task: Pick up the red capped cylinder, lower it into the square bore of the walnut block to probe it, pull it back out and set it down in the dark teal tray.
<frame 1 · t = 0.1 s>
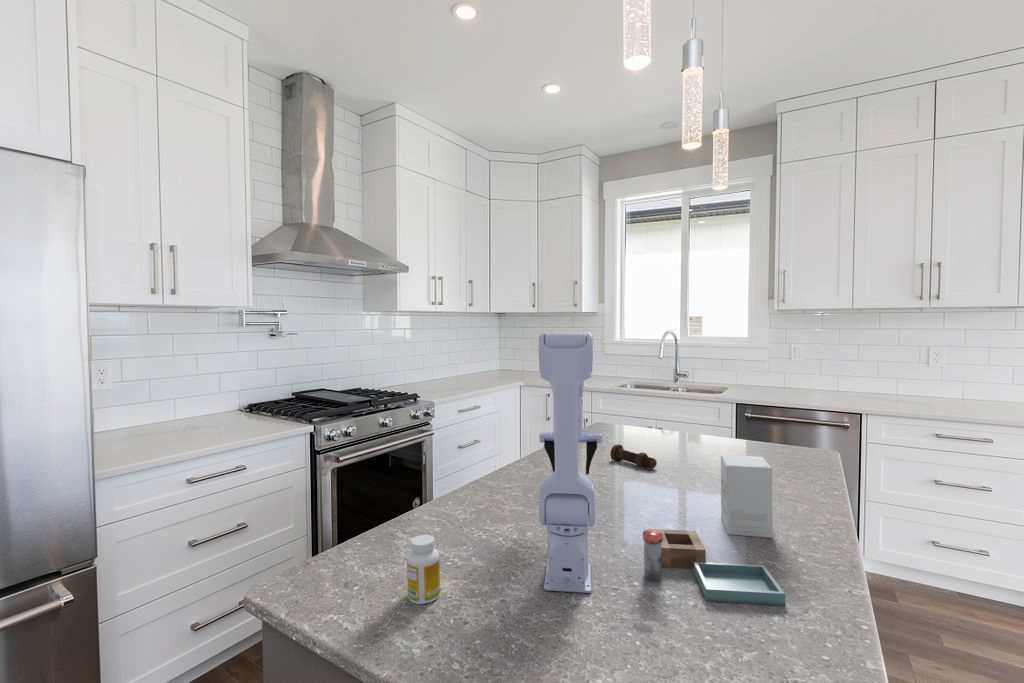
hand: (570, 472, 114), 10 cm above the counter, tool pointing down, fingers open, 7 cm apart
supplement box: (745, 528, 105), on the counter
tray: (736, 588, 82), on the counter
supplement bottle: (424, 597, 82), on the counter
bore block: (678, 557, 93), on the counter
bolt: (633, 465, 153), on the counter
red capped cylinder: (652, 577, 86), on the counter
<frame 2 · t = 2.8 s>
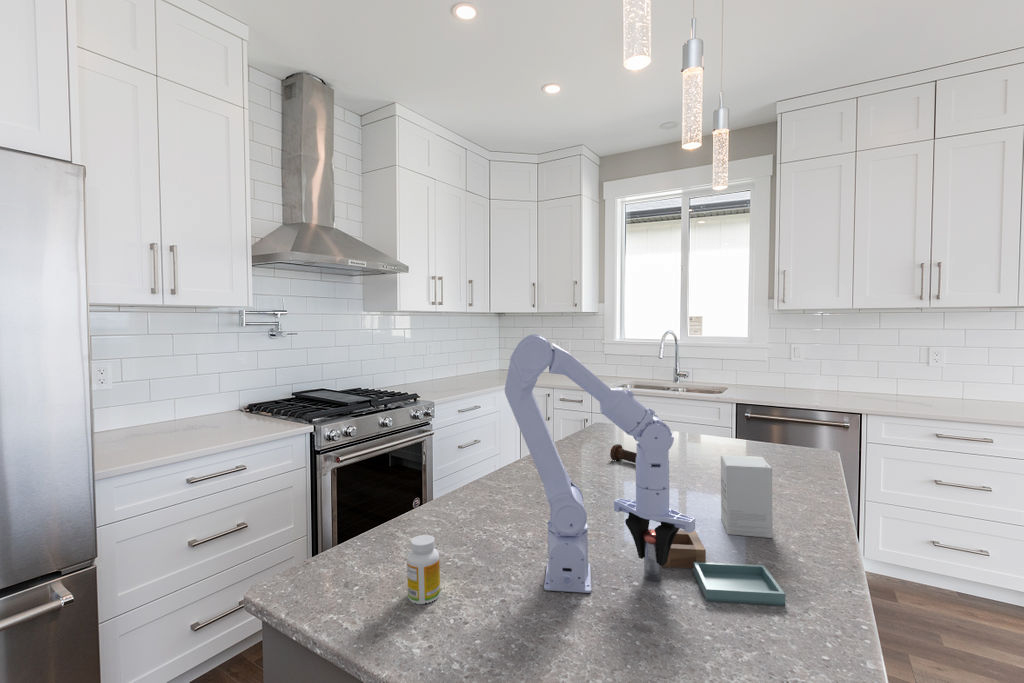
hand: (652, 559, 86), 3 cm above the counter, tool pointing down, fingers closed on red capped cylinder, 3 cm apart
red capped cylinder: (652, 577, 86), on the counter, touching gripper
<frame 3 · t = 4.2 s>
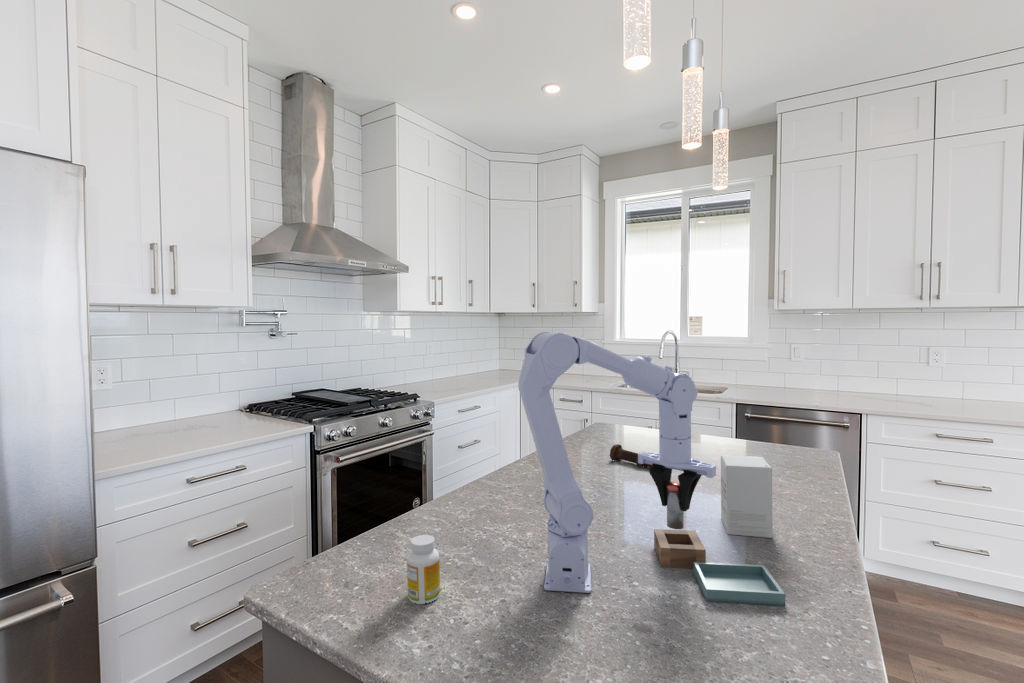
hand: (675, 506, 92), 10 cm above the counter, tool pointing down, fingers closed on red capped cylinder, 3 cm apart
red capped cylinder: (675, 526, 91), point 7 cm above the counter, touching gripper
everything else where it was.
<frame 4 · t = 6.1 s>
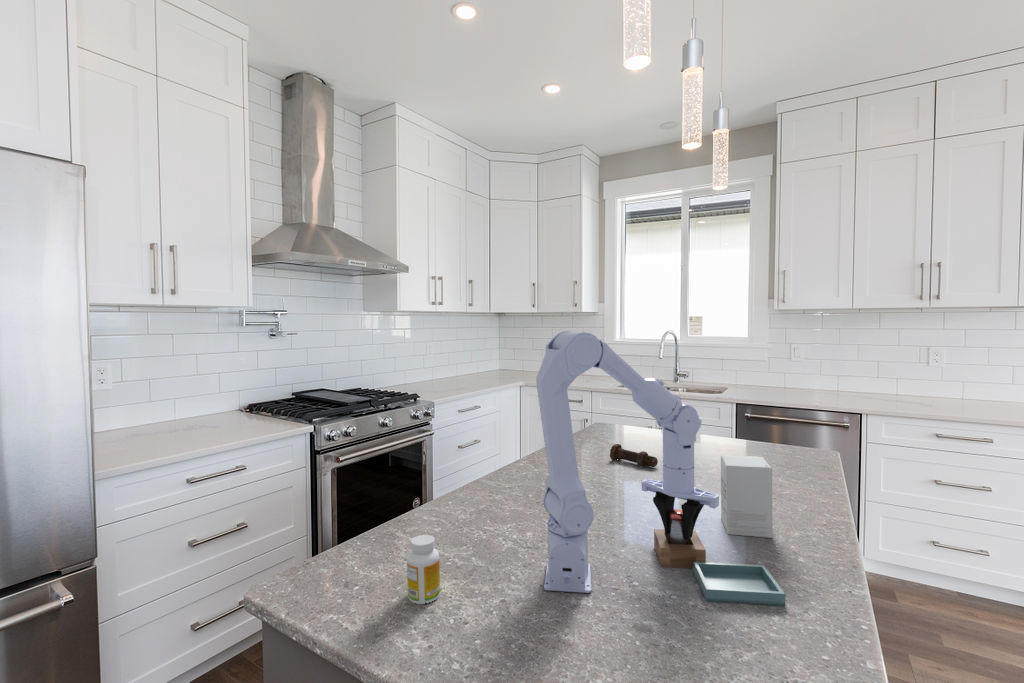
hand: (678, 535, 93), 4 cm above the counter, tool pointing down, fingers closed on red capped cylinder, 3 cm apart
red capped cylinder: (678, 554, 92), point 1 cm above the counter, touching gripper
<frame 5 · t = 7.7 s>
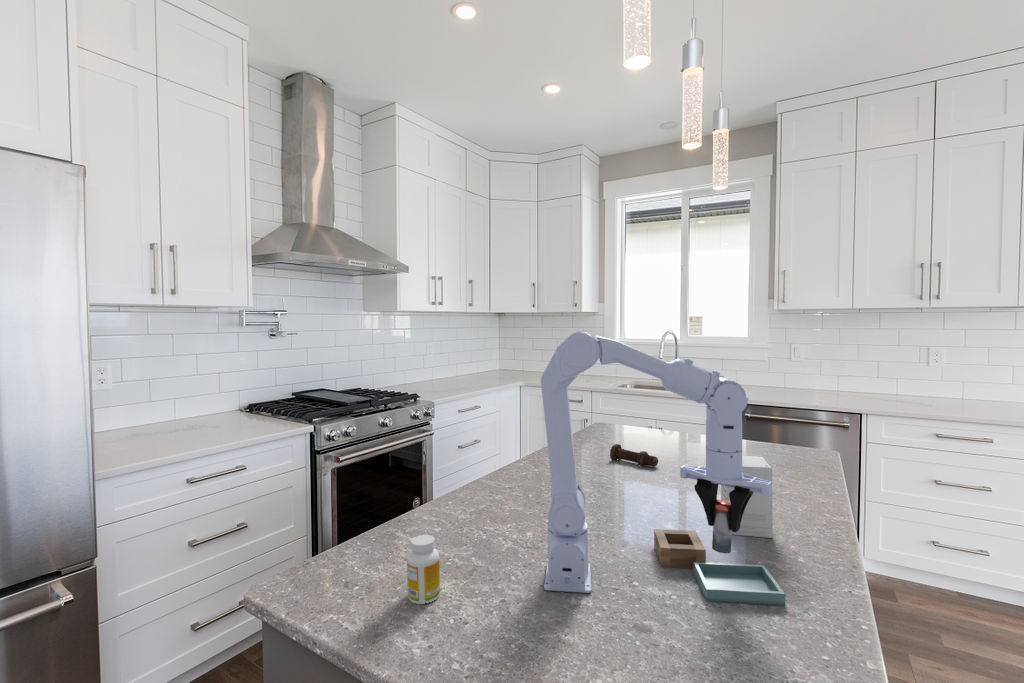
hand: (723, 527, 83), 10 cm above the counter, tool pointing down, fingers closed on red capped cylinder, 3 cm apart
red capped cylinder: (721, 549, 83), point 6 cm above the counter, touching gripper
when the fingers open (5 cm above the counter, at t = 9.1 s): red capped cylinder stays where it is, resting on tray.
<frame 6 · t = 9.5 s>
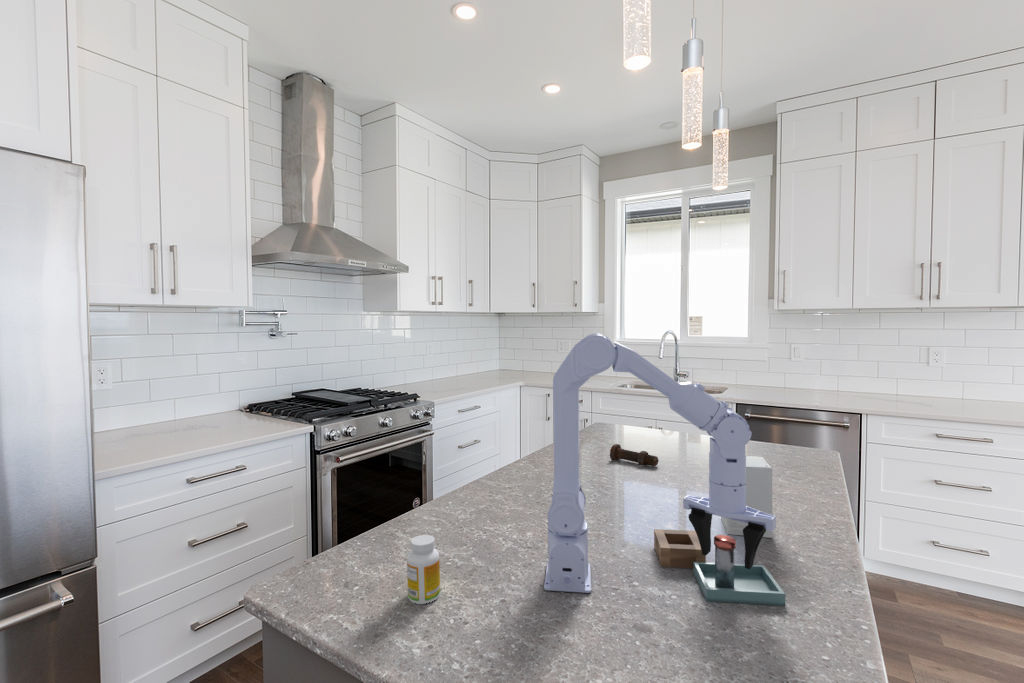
hand: (727, 559, 82), 5 cm above the counter, tool pointing down, fingers open, 6 cm apart
red capped cylinder: (724, 585, 82), point 1 cm above the counter, touching tray
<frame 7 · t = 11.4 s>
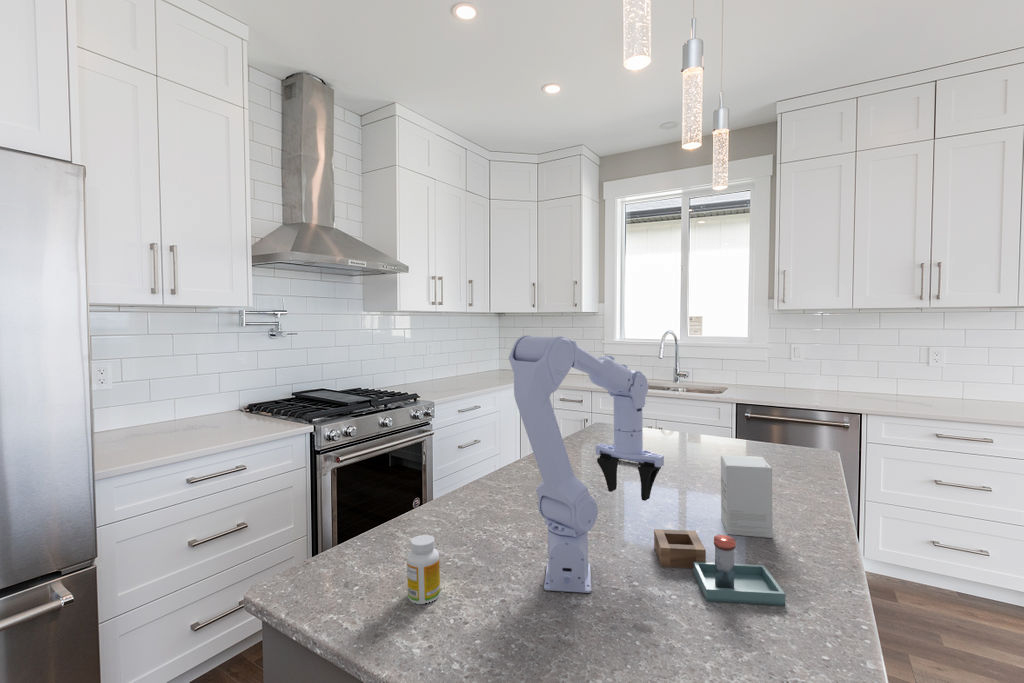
hand: (628, 494, 99), 10 cm above the counter, tool pointing down, fingers open, 7 cm apart
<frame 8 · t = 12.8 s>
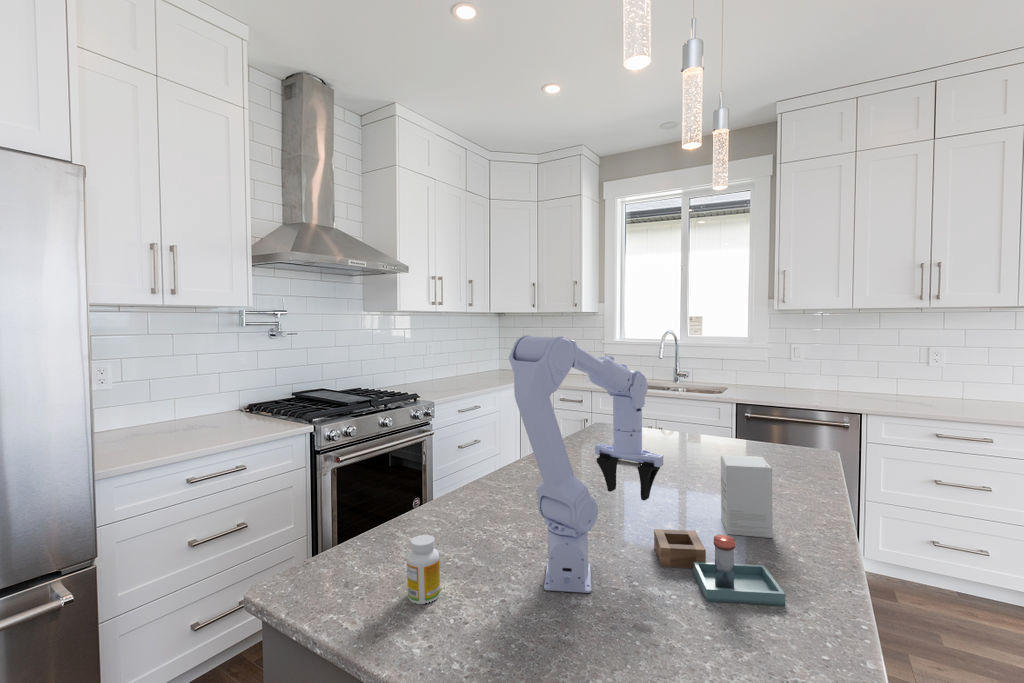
hand: (628, 494, 99), 10 cm above the counter, tool pointing down, fingers open, 7 cm apart
at the end: red capped cylinder inside the target area on the tray (2.0 cm from its centre), point 0.5 cm above the tray's base; the gripper is holding nothing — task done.
